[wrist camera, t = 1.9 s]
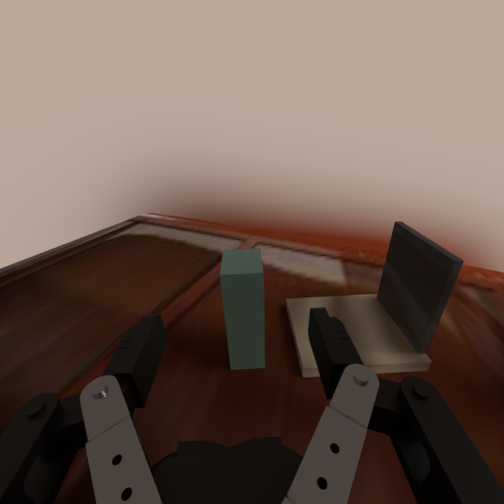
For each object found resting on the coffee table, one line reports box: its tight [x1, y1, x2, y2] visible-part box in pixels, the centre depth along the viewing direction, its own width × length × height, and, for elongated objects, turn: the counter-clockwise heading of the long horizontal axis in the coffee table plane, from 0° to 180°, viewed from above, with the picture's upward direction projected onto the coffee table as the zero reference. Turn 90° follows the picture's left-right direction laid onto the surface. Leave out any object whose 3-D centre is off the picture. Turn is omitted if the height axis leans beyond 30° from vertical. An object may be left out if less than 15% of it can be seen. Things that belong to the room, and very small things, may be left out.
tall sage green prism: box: [220, 248, 265, 370], centre depth 28 cm, size 4×5×13 cm
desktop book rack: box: [286, 222, 463, 378], centre depth 30 cm, size 14×12×14 cm
